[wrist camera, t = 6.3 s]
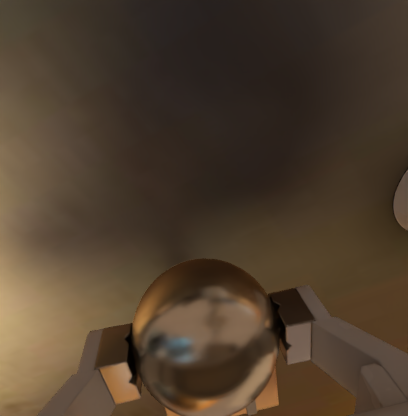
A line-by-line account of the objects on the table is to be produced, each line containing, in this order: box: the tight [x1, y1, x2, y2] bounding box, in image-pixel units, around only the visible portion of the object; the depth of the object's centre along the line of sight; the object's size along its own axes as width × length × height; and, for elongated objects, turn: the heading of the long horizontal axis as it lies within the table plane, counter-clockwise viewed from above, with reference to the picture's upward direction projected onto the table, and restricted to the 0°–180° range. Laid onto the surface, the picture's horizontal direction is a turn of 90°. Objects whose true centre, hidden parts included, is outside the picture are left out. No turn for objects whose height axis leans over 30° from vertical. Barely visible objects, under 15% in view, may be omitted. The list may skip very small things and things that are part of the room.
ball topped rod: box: [131, 258, 280, 416], centre depth 16 cm, size 21×5×5 cm, turn 11°
